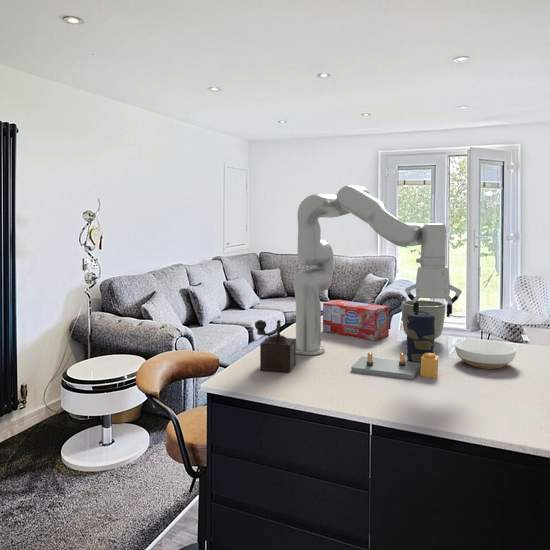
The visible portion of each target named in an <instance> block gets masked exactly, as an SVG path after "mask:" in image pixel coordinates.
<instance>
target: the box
mask: <svg viewBox="0 0 550 550" xmlns="http://www.w3.org/2000/svg"><path fill="white" fill-rule="evenodd" d="M389 323H390V306H388V305H381V304H374V303H366V302H358V301H350V300H344V299H335V300H330V301H326V302H322V332H325V333H329V334H335V335H341V336H346V337H351V338H356V339H361V340H366V341H367V340H368V341H376V340H380V339H383V338H385V337H389V336H390V335H389V333H390V329H389V328H390V324H389Z"/></svg>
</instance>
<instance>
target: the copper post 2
mask: <svg viewBox="0 0 550 550" xmlns="http://www.w3.org/2000/svg"><path fill="white" fill-rule="evenodd" d="M399 361H400V362H399V366H406V362H405V361H406V353H404V352H400V353H399Z"/></svg>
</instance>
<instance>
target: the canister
mask: <svg viewBox="0 0 550 550" xmlns="http://www.w3.org/2000/svg"><path fill="white" fill-rule="evenodd" d="M434 338H435V316H434V315H433V314H430V313H428V312H424V311H419V314H418V315H415V312H414V313H409V314H408V316H407V335H406V359H407V360H409V362H416V363H420V364H421V357H422V355H423V354H424V353H434V354H435V340H434Z"/></svg>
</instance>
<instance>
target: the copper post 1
mask: <svg viewBox="0 0 550 550" xmlns="http://www.w3.org/2000/svg"><path fill="white" fill-rule="evenodd" d="M367 357H368V361H367V365H368V366H373V362H372V358H373V352H368V353H367Z"/></svg>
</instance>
